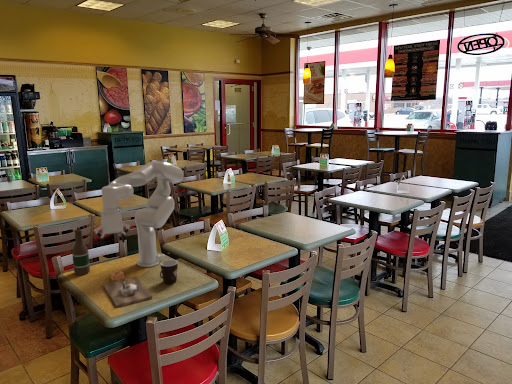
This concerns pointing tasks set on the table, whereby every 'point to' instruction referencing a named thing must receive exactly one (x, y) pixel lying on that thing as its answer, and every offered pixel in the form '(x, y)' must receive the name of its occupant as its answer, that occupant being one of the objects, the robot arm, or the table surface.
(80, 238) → the beer bottle
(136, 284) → the gear board
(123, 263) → the table surface
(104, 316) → the table surface
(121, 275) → the terracotta gear
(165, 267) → the coffee mug
